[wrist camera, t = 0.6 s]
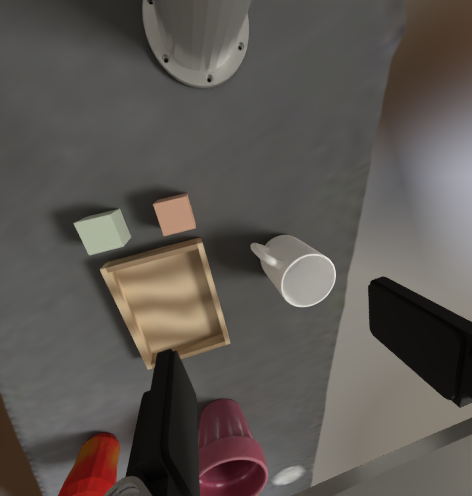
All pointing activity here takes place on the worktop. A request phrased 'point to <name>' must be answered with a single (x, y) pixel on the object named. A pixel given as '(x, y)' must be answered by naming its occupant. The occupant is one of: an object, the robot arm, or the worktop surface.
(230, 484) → the plant pot
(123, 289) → the oak tray
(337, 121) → the worktop surface
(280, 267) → the cup
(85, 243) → the sage block
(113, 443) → the apple
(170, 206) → the terracotta block
